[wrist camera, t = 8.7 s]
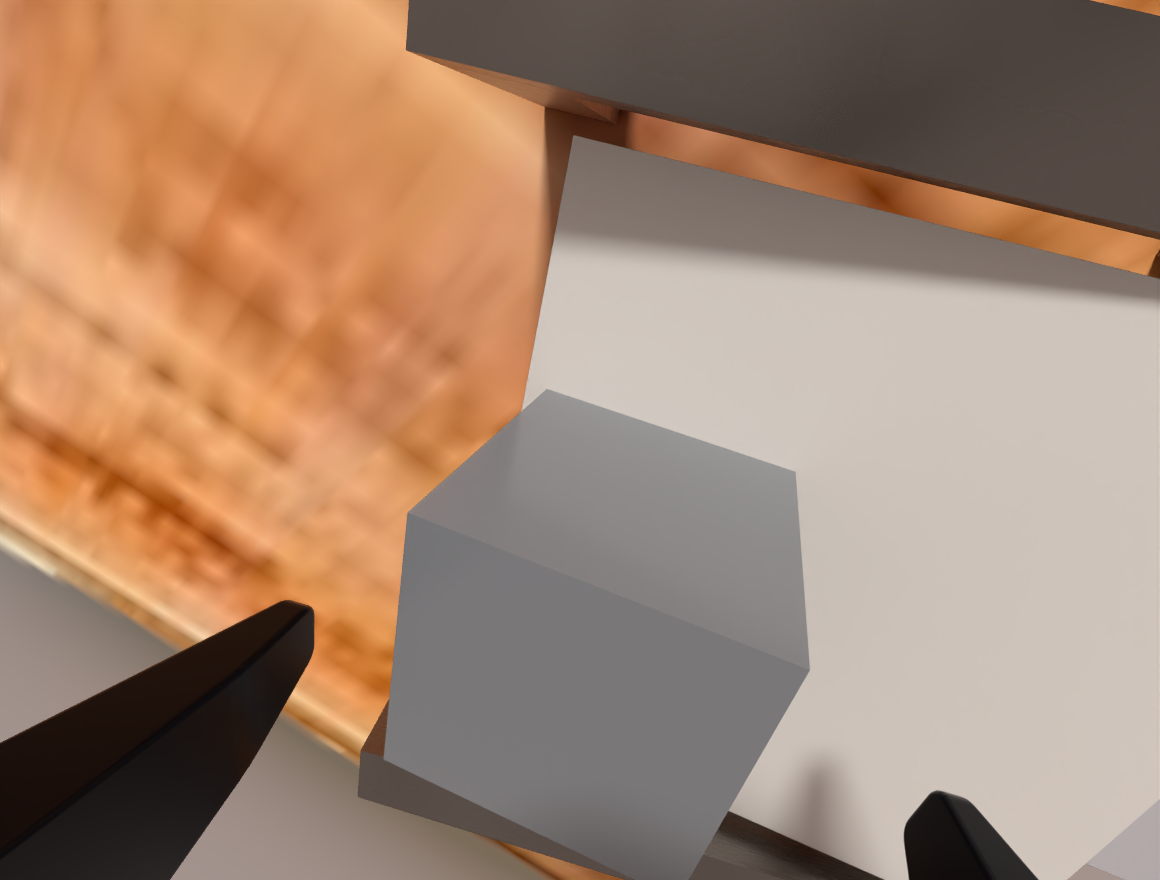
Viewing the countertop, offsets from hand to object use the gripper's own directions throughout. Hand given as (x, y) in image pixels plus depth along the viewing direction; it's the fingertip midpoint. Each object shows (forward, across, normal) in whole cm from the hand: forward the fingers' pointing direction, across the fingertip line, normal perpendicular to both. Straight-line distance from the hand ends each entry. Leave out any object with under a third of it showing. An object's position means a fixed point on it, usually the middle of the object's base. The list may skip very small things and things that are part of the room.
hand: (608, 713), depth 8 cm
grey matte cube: (+5, 0, 0) cm, 5 cm away
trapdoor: (+9, -7, 0) cm, 11 cm away
